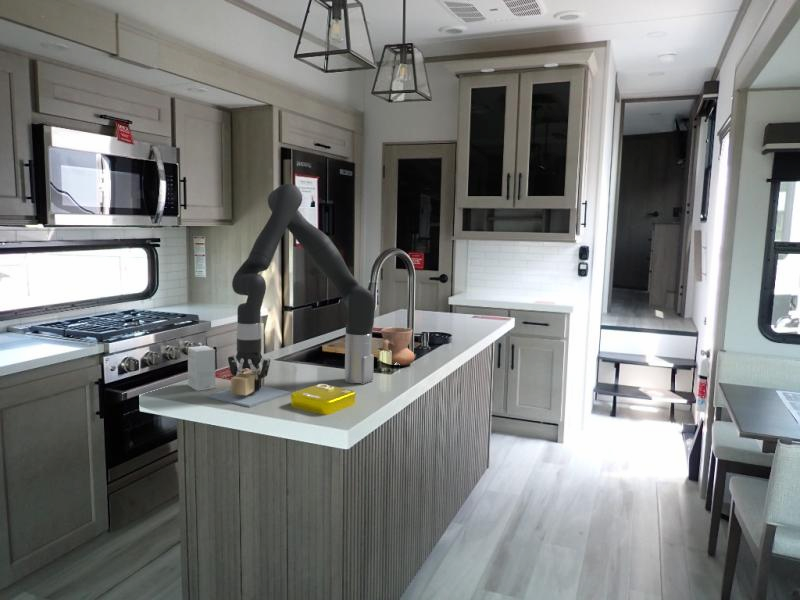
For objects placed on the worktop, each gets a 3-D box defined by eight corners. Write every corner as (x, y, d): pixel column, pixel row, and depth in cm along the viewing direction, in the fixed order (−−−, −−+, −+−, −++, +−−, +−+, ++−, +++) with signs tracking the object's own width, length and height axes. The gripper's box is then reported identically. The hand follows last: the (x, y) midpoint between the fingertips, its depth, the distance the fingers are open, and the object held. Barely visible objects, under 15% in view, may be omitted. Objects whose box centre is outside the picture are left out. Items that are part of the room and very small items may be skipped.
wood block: (231, 377, 181) (250, 369, 192) (231, 393, 181) (250, 384, 193) (245, 379, 180) (264, 370, 191) (245, 395, 180) (264, 385, 192)
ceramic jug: (393, 357, 247) (393, 324, 245) (423, 362, 239) (423, 328, 237) (367, 366, 232) (367, 330, 230) (398, 371, 224) (398, 335, 223)
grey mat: (289, 393, 191) (289, 391, 191) (249, 407, 175) (249, 405, 175) (248, 384, 199) (248, 382, 199) (206, 397, 184) (206, 395, 184)
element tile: (288, 407, 178) (288, 391, 177) (320, 396, 191) (320, 381, 190) (326, 417, 170) (326, 401, 169) (357, 404, 183) (358, 389, 182)
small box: (215, 388, 194) (215, 349, 192) (196, 391, 190) (196, 351, 188) (206, 382, 200) (206, 345, 198) (187, 385, 196) (187, 347, 194)
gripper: (275, 336, 187) (275, 388, 189) (234, 332, 190) (234, 384, 192) (264, 340, 180) (264, 394, 182) (222, 337, 183) (222, 390, 185)
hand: (249, 389), depth 187 cm, fingers closed on wood block, 5 cm apart
